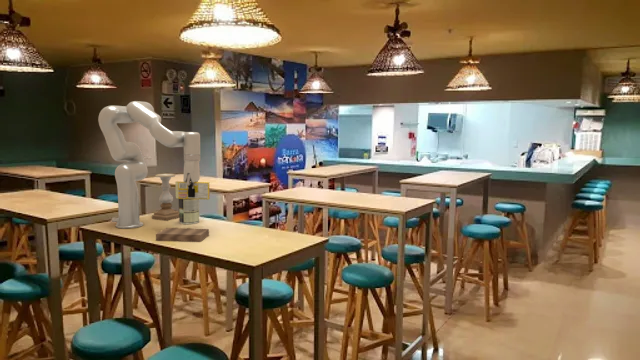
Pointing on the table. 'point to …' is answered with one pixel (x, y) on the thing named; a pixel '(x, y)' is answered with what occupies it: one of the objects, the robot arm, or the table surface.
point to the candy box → (199, 187)
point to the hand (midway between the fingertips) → (192, 196)
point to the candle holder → (165, 200)
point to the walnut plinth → (182, 234)
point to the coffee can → (188, 211)
